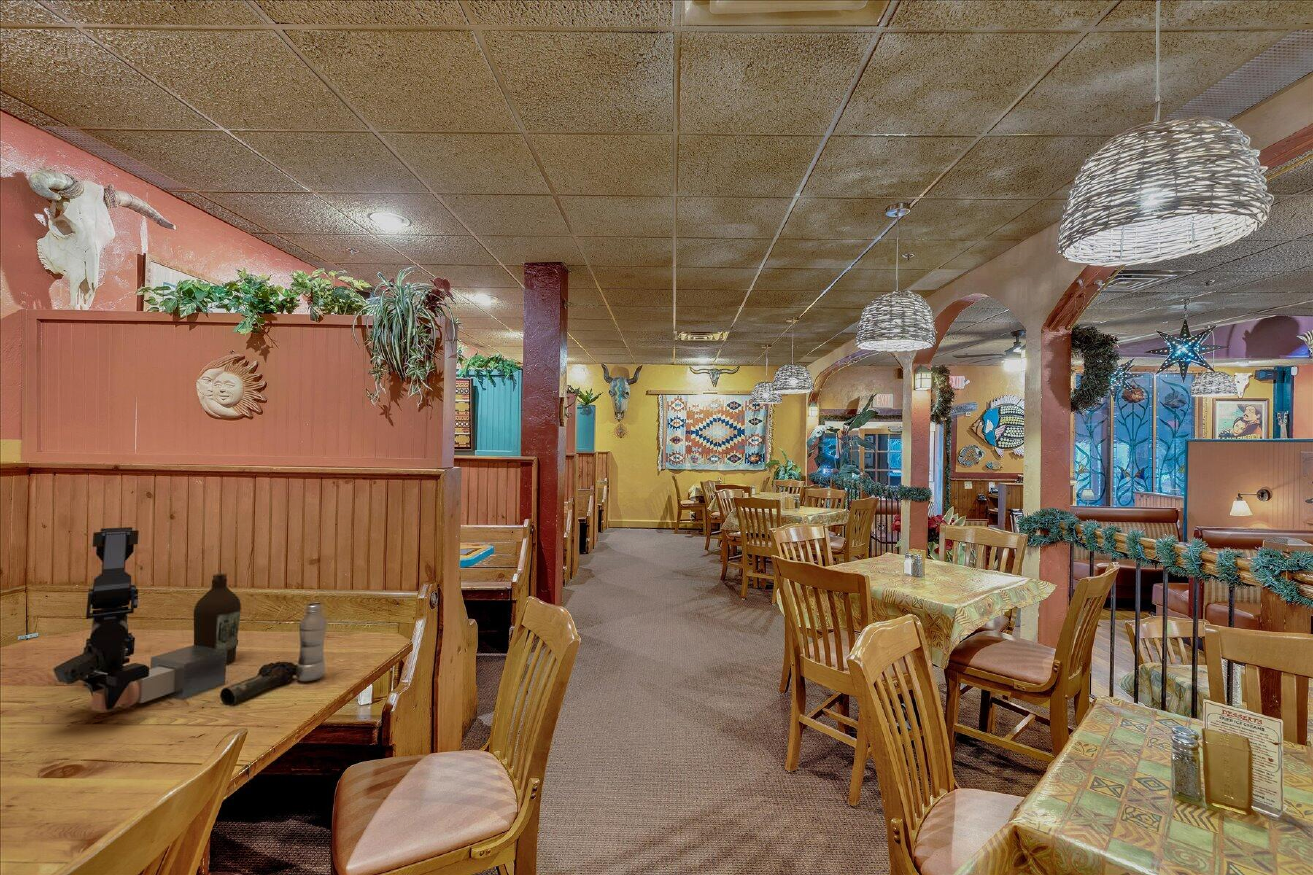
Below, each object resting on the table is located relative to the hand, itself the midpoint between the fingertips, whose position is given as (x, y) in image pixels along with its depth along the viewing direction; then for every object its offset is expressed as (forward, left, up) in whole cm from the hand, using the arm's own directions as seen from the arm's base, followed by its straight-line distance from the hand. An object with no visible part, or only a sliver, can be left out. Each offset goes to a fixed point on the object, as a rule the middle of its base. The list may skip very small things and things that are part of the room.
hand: (104, 707), depth 126 cm
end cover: (0, +6, -1) cm, 6 cm away
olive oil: (-11, +31, -2) cm, 33 cm away
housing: (0, +17, -2) cm, 17 cm away
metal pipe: (+18, +23, -2) cm, 29 cm away
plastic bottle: (+23, +32, -2) cm, 40 cm away
